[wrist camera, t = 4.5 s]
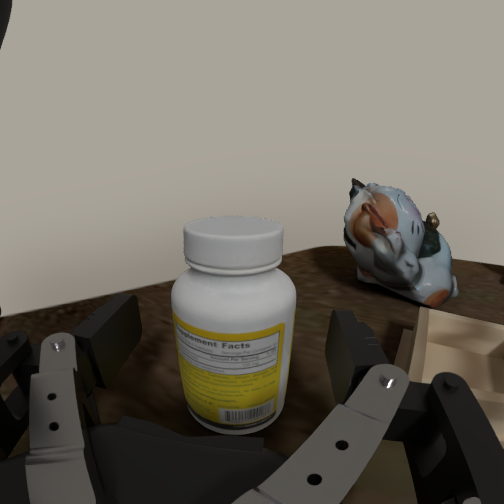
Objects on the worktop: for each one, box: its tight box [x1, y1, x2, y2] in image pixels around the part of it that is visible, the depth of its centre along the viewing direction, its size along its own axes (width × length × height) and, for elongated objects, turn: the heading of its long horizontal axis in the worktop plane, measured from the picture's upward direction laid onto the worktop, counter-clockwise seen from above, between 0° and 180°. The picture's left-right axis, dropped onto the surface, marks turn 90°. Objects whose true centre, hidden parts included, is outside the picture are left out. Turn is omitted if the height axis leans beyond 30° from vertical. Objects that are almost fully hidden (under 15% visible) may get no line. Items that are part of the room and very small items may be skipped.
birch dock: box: [394, 307, 504, 449], centre depth 13 cm, size 11×10×3 cm
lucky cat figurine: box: [344, 178, 459, 309], centre depth 28 cm, size 15×12×14 cm
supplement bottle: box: [171, 216, 296, 435], centre depth 13 cm, size 5×5×10 cm
